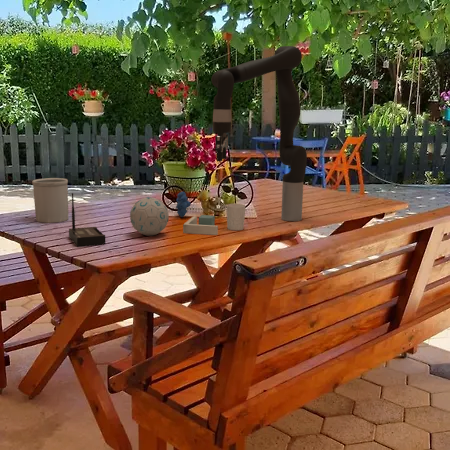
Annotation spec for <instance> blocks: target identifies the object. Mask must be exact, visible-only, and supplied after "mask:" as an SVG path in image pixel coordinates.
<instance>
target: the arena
mask: <svg viewBox="0 0 450 450" xmlns="http://www.w3.org/2000/svg"><path fill="white" fill-rule="evenodd" d="M182 231H183V232H182V233H183V234H193V235H207V236H208V235H209V236H218V235H219V225H215V226H213V225H199V224H198V216H196V215H193V216H191V218H189V219H188V220H186V222H184V224H183V225H182Z"/></svg>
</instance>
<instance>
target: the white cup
mask: <svg viewBox="0 0 450 450" xmlns="http://www.w3.org/2000/svg"><path fill="white" fill-rule="evenodd" d="M225 206H226V223H227V224H226V225H227V230H228V231H229V230H230V231H242V230H244V227H245V217H246V204H244V203H228V204H226V205H225Z"/></svg>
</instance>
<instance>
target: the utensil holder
mask: <svg viewBox="0 0 450 450" xmlns="http://www.w3.org/2000/svg"><path fill="white" fill-rule="evenodd" d="M31 183H32V186H33V187H32V188H33V189H32V190H33V200H34V202H33V203H34V209H35V210H34V211H35V221H36V222H38V223H44V224H46V223H49V224H52V223H61V222H66V221H68V220H69V196H68V195H69V194H68V192H69V190H68V183H69V181H68V178H62V177H61V178H60V177H49V178H38V179H34V180H32V181H31Z"/></svg>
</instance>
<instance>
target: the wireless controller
mask: <svg viewBox="0 0 450 450" xmlns="http://www.w3.org/2000/svg"><path fill="white" fill-rule="evenodd" d="M75 212H76V211H75V203H74V193H73V192H72V193H71V225H72V226H71V228H68V237H69V239H70V240H71V242H73V244H74V245H75V246H76V247H77V248H81V247H94V246H103V245H104V244H106V234H104V233H103V232H101V231H100V230H99V229H98V228H97V226H85V227H84V226H83V227H76V214H75ZM102 244H103V245H102Z"/></svg>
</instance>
